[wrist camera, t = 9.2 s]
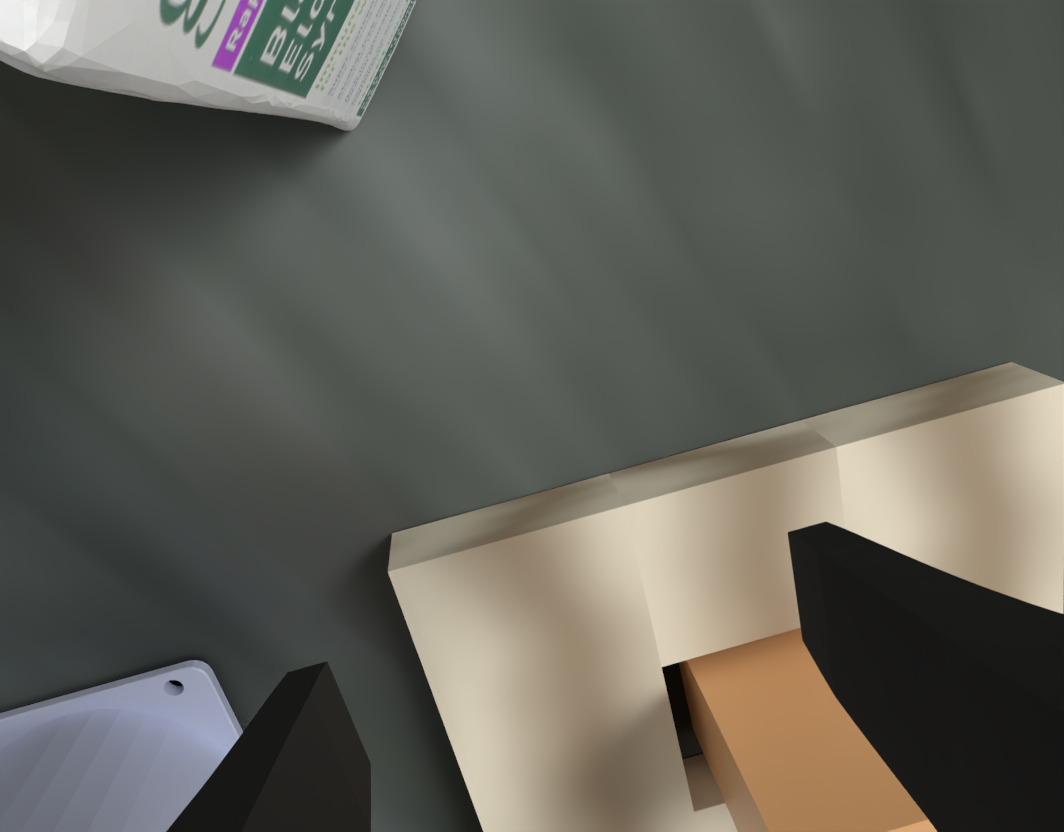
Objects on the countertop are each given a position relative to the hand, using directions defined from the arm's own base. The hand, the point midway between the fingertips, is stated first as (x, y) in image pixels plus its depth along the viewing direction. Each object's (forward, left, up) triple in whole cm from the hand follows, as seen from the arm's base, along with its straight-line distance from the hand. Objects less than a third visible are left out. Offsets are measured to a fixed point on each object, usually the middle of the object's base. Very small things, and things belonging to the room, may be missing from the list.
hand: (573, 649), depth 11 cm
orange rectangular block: (+5, -10, -9) cm, 14 cm away
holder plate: (+5, -10, -9) cm, 15 cm away
